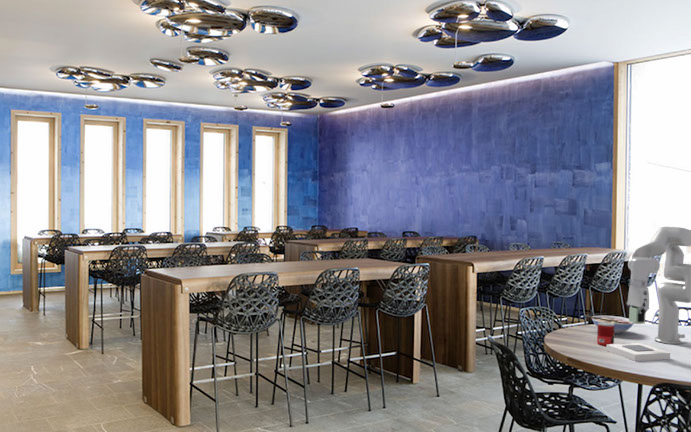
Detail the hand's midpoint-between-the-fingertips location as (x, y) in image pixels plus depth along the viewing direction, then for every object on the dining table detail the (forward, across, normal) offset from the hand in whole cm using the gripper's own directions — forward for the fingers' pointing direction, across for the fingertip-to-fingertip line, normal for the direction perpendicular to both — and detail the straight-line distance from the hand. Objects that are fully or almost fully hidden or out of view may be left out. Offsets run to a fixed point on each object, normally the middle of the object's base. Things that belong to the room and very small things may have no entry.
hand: (636, 320), depth 311 cm
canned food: (+16, +17, +4) cm, 24 cm away
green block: (+1, 0, 0) cm, 1 cm away
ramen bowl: (+16, +42, -19) cm, 49 cm away
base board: (+16, -4, +2) cm, 17 cm away
